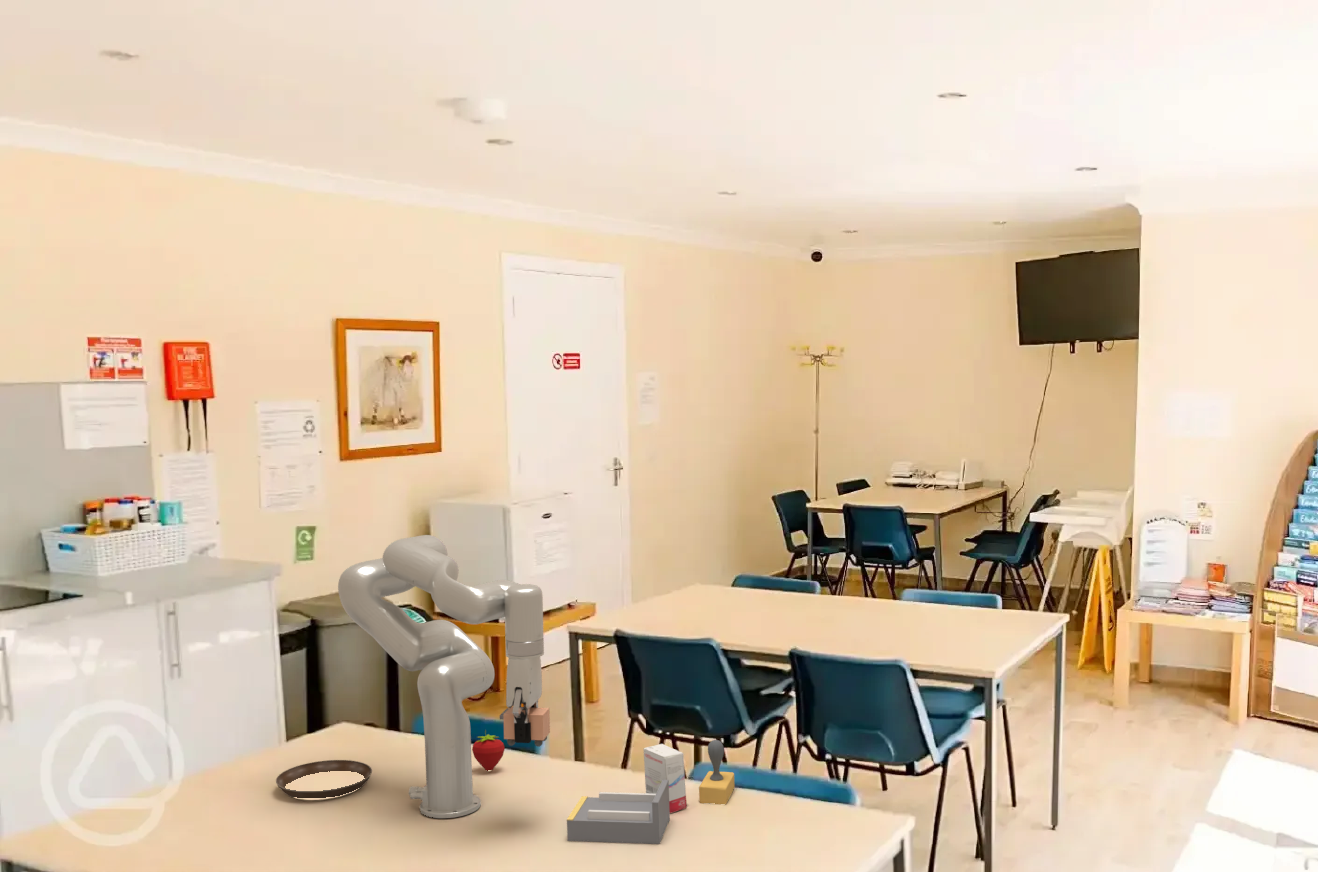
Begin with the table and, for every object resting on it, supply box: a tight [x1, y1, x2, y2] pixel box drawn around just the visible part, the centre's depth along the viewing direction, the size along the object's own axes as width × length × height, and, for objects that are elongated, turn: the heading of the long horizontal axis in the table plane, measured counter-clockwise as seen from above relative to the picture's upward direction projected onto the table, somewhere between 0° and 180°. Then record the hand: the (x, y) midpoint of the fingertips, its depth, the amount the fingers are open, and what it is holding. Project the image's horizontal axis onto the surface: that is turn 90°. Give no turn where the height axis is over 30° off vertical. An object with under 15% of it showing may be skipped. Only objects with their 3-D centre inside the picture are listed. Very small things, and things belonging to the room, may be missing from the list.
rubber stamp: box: [698, 739, 736, 805], centre depth 240 cm, size 10×6×12 cm, turn 166°
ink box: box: [643, 743, 688, 814], centre depth 235 cm, size 9×5×12 cm, turn 33°
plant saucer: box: [275, 759, 373, 798], centre depth 253 cm, size 21×21×3 cm
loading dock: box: [566, 780, 671, 845], centre depth 223 cm, size 18×13×8 cm
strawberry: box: [471, 729, 505, 772], centre depth 260 cm, size 6×8×10 cm
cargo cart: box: [499, 706, 551, 747], centre depth 225 cm, size 9×5×6 cm, turn 81°
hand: (527, 737), depth 225 cm, fingers closed on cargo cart, 5 cm apart
